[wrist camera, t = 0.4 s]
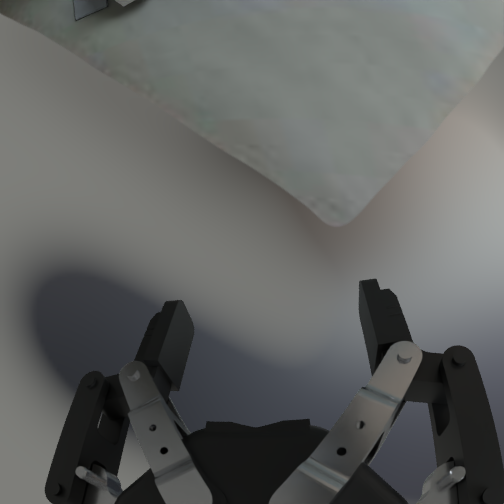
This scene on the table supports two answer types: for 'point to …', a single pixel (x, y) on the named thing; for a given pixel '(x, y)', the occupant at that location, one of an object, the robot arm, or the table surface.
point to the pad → (88, 7)
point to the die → (124, 2)
